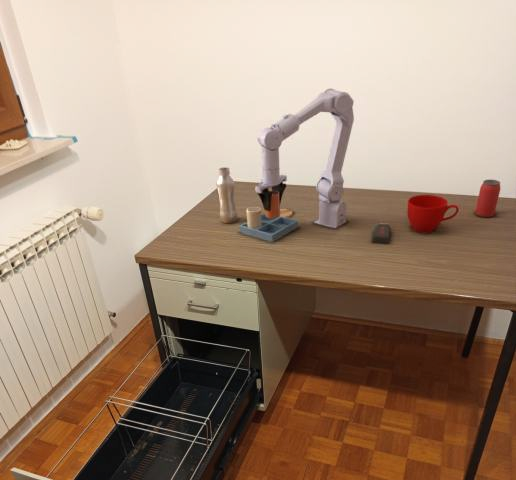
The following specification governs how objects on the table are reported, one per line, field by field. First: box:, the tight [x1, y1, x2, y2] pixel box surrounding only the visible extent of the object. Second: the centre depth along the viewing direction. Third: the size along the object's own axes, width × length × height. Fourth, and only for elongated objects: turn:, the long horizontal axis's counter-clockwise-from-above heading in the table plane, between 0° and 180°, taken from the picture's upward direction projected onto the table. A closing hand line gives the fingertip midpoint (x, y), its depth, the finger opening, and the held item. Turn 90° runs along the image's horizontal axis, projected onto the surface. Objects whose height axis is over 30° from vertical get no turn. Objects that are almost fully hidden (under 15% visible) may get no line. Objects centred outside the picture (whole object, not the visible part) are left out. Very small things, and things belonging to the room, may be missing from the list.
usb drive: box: [372, 223, 392, 244], centre depth 170 cm, size 5×12×3 cm, turn 164°
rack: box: [238, 212, 299, 242], centre depth 178 cm, size 15×15×3 cm
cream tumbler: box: [245, 206, 262, 229], centre depth 176 cm, size 5×5×8 cm
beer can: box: [474, 179, 501, 218], centre depth 178 cm, size 7×7×12 cm
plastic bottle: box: [216, 167, 238, 224], centre depth 182 cm, size 6×7×20 cm
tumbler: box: [264, 189, 281, 218], centre depth 170 cm, size 5×5×8 cm
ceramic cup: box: [406, 194, 459, 234], centre depth 170 cm, size 13×17×10 cm
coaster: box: [280, 208, 294, 218], centre depth 191 cm, size 9×9×1 cm
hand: (272, 207), depth 170 cm, fingers closed on tumbler, 5 cm apart
